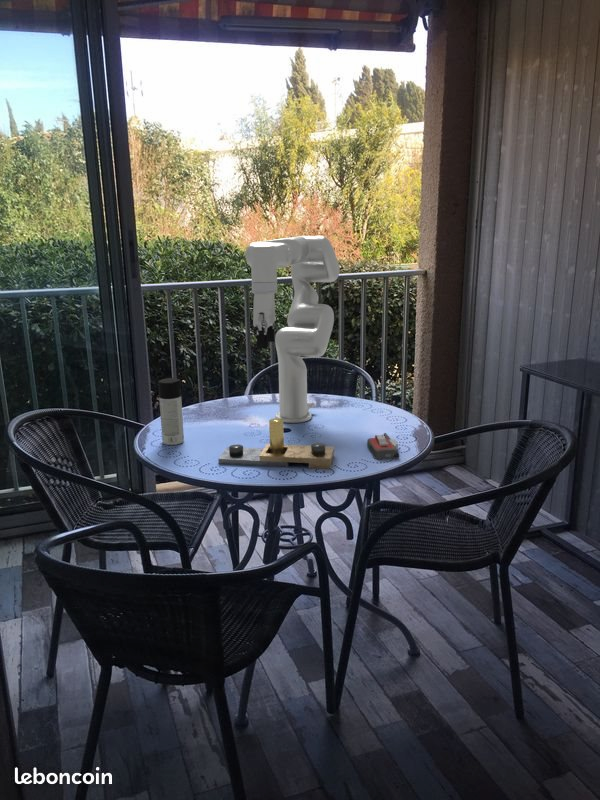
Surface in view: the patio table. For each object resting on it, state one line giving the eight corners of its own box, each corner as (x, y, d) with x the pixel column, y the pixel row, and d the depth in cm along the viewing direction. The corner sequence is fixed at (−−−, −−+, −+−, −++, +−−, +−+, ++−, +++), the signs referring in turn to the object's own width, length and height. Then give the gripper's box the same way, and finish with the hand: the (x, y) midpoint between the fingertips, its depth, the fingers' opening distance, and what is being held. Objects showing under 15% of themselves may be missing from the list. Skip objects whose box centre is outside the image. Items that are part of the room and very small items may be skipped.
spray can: (188, 441, 209) (184, 379, 203) (173, 447, 203) (168, 384, 198) (173, 437, 212) (169, 376, 207) (157, 443, 207) (153, 381, 202)
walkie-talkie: (406, 460, 192) (387, 437, 211) (406, 446, 191) (388, 424, 210) (376, 462, 191) (360, 439, 210) (376, 447, 189) (360, 426, 208)
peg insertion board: (227, 451, 199) (227, 435, 198) (334, 456, 194) (334, 440, 193) (218, 463, 190) (217, 447, 188) (330, 469, 185) (330, 452, 183)
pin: (276, 456, 195) (275, 417, 191) (286, 459, 192) (286, 420, 189) (267, 460, 192) (266, 420, 188) (277, 463, 189) (276, 423, 186)
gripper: (258, 284, 205) (260, 339, 210) (245, 291, 189) (247, 350, 193) (282, 284, 204) (283, 339, 209) (271, 291, 188) (272, 350, 192)
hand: (266, 344), depth 201 cm, fingers open, 9 cm apart
